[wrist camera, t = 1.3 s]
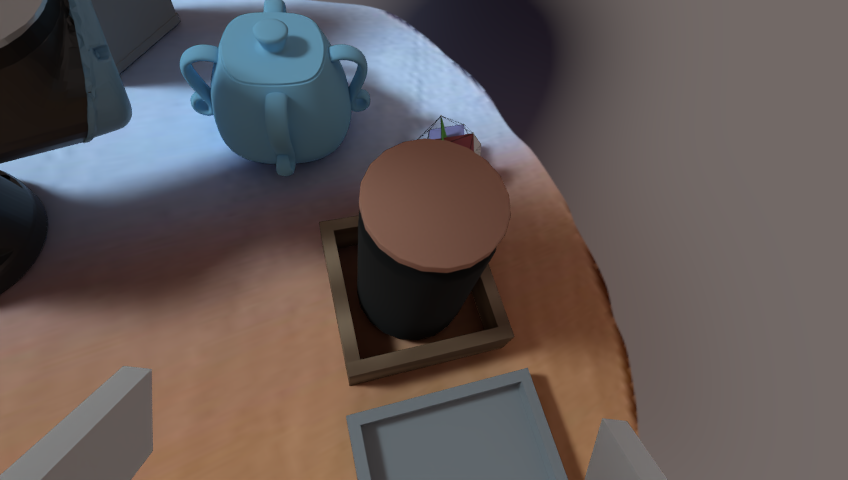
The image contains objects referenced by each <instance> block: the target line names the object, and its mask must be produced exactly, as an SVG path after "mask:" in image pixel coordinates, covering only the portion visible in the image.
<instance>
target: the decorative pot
mask: <svg viewBox="0 0 848 480" xmlns="http://www.w3.org/2000/svg"><path fill="white" fill-rule="evenodd" d="M339 60H349V61H353V62H355V63H357V64H358V67H357V71H356V73H355V76H354V78H353V80H352V82H351V84H350V86H349V87H348V82H347V79H346V76H345V73H344V70H343V68H342V65H341V63H340V61H339ZM197 61H209V62H214V64H213V70H212V76H211V88H210V87H209V86H208V85H207V84H206V83H205V81H204V80H203V79H202V78H201V77H200V76H199V75H198V73H197V72H196V71H195V69H194V68H193V66H192V63H194V62H197ZM180 69H181V73H182V75H183V76H184V78H185V80H186V81H187V82H188V84H189V85H190V86H191V87H192V88H193V89H194V90H195V91H196V92H195V93H194V94H193V95H192V96H191V105H192V107H193V109H194V110H195V111H196V112H198V113H200V114H203V115H207V116H211V115H214V118H215V121H216V124H217V127H218V130H219V133H220V135H221V137H222V139H223V140H224V142H225V143H226V145H227V146H228V147H229V148H230V149H231V150H232V151H233V152H235V153H236V154H237V155H239V156H241V157H243V158H245V159H248V160H251V161H254V162H259V163H266V164H276V172H277V174H279V175H281V176H290V175H292V174H293V173H294V171H295V163H304V162H311V161H315V160H319V159H321V158H324V157H326V156H327V155H329V154H331V153H332V152H333V151H334V150H335V149H337V148H338V147H339V145H340V144H341V143H342V141H343V140H344V138H345V136H346V133H347V130H348V127H349V124H350V119H351V110H352V111H355V112H359V111H363V110H365V109H366V108H367V107H368V106H369V104H370V95H369V94H368V92H367V91H366V90H363V89H361V87H362V85H363V83H364V81H365V78H366V75H367V61H366V59H365V56H364V55H363V54H362V52H361V51H359V50H358V49H357V48H355V47H352V46H349V45H343V44H340V45H334V46H331V45H330V43H329V41H328V40H327V38H326V37H325V35H324V34H323V32H322V31H321V29H320V28H319V27H318V26H317V24H316V23H315V22H314V21H313V20H311V19H310V18H308V17H306V16H303V15H299V14H293V13H286V7H285V3H284V1H282V0H265V2H264V12H258V13H248V14H243V15H240V16H238V17H236V18H235V19H233V20H232V21H231V22H230V23H229V24H228V25H227V27H226V29H225V31H224V33H223V35H222V38H221V41H220V43H219V47H216V46H212V45H205V44H203V45H195V46H192V47H190V48H188V49H187V50H186V51H185V52H184V53H183V54H182V56H181V59H180ZM203 100H204V101H203Z"/></svg>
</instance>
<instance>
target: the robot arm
mask: <svg viewBox="0 0 848 480" xmlns="http://www.w3.org/2000/svg"><path fill="white" fill-rule="evenodd" d="M131 117H132V108H131V104H130V101H129V99H128V96H127V93H126V91H125V88H124V85H123V83H122V80H121V78H120V75H119V73H118V70H117V67H116V65H115V62H114V60H113V57H112V55H111V52H110V50H109V47H108V44H107V41H106V39H105V36H104V34H103V31H102V28H101V26H100V23H99V20H98V18H97V15H96V13H95V10H94V7H93V5H92V2H91V0H0V163H4V162H8V161H12V160H16V159H19V158H23V157H27V156H31V155H35V154H39V153H43V152H47V151H51V150H55V149H59V148H63V147H66V146H70V145H74V144H78V143H82V142H83V143H86V142H90V141H91V140H92V139H93V138H94V137H97V136H100V135H103V134H106V133H109V132H112V131H115V130H118V129H121V128H123V127H124V126H126V125H127V124H128V123H129V121H130V119H131ZM47 226H48V223H47V215H46V211H45V209H44V206H43V204H42V203H41V201H40V200H39V198H38V197H37V196H36V195H35V194H34V193H33V192H32V191H31V190H29V189H28V188H27V187H26V186H25V185H24V184H23V183H22V182H20V181H19V180H18V179H16V178H15V177H13V176H11V175H10V174H8V173H6V172H3V171H1V170H0V294H1V293H2V292H4V291H5V290H7V289H8V288H9V287H11V286H12V285H13V284H14V283H15V282H17V281H18V280H19V279H20V278H21V277H22V276H23V275H24V274H25V273H26V272H27V270H28V269H29V268H30V267H31V266H32V264H33V263H34V261H35V260H36V258H37V257H38V255H39V253H40V251H41V249H42V247H43V245H44V242H45V239H46V235H47ZM152 451H153V433H152V369H146V368H137V367H128V366H123V367H122V368H121V369H119V370H118V371H117V372H116V373H115V374H114V375H113V376H112V377H110V378H109V379H108V380H107V381H106V382H105V383H104V384H103V385H101V386H100V387H99V388H98V389H97V390H96V391H95V392H94V393H92V394H91V395H90V396H89V397H88V398H87V399H86V400H85V401H83V402H82V403H81V404H80V405H79V406H78V407H77V408H75V409H74V410H73V411H72V412H71V413H70V414H69V415H68V416H66V417H65V418H64V419H63V420H62V421H61V422H60V423H59V424H57V425H56V426H55V427H54V428H53V429H52V430H51V431H50V432H48V433H47V434H46V435H45V436H44V437H43V438H42V439H41V440H39V441H38V442H37V443H36V444H35V445H34V446H33V447H32V448H30V449H29V450H28V451H27V452H26V453H25V454H24V455H22V456H21V457H20V458H19V459H18V460H17V461H16V462H15V463H13V464H12V465H11V466H10V467H9V468H8V469H7V470H6V471H4V472H3V473H2V474H1V475H0V480H131V479H132V478H133V476H134V475H135V474H136V472H137V471H138V470H139V468H140V467H141V466H142V464H143V463H144V462H145V460H146V459H147V458H148V457H149V455H150V454H151V453H152ZM585 480H668V479H667V478H666V476H665V475H664V474H663V472H662V471H661V469H660V468H659V466H658V465H657V463H656V462H655V461H654V459H653V458H652V456H651V455H650V454H649V452H648V451H647V449H646V448H645V446H644V445H643V444H642V442H641V441H640V439H639V438H638V436H637V435H636V433H635V432H634V431H633V429H632V428H631V426H630V425H629V423H628V422H627V421H622V420H613V419H603V418H602V421H601V425H600V428H599V431H598V435H597V438H596V442H595V445H594V449H593V452H592V456H591V459H590V462H589V466H588V469H587V473H586V476H585Z"/></svg>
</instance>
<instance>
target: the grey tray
mask: <svg viewBox="0 0 848 480" xmlns="http://www.w3.org/2000/svg"><path fill="white" fill-rule="evenodd" d="M346 418H347V424H348V429H349V435H350V440H351V446H352V451H353V457H354V462H355V468H356V473H357V479H358V480H568V478H567V475H566V473H565V470H564V467H563V464H562V462H561V459H560V456H559V453H558V451H557V448H556V445H555V442H554V439H553V437H552V434H551V431H550V428H549V426H548V423H547V420H546V417H545V415H544V412H543V409H542V406H541V403H540V401H539V398H538V395H537V392H536V390H535V387H534V384H533V381H532V379H531V376H530V373H529V370H528V368H525V369H521V370H518V371H514V372H510V373H506V374H502V375H499V376H495V377H491V378H487V379H484V380H480V381H476V382H472V383H468V384H465V385H461V386H457V387H453V388H450V389H446V390H442V391H438V392H434V393H431V394H427V395H423V396H419V397H416V398H412V399H408V400H404V401H400V402H397V403H393V404H389V405H385V406H382V407H378V408H374V409H370V410H366V411H363V412H359V413H355V414H351V415H348V416H346Z"/></svg>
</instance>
